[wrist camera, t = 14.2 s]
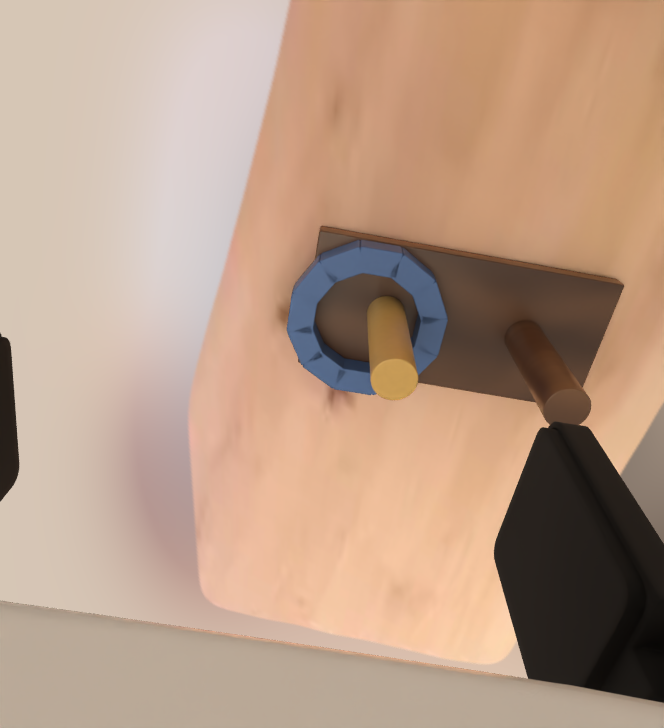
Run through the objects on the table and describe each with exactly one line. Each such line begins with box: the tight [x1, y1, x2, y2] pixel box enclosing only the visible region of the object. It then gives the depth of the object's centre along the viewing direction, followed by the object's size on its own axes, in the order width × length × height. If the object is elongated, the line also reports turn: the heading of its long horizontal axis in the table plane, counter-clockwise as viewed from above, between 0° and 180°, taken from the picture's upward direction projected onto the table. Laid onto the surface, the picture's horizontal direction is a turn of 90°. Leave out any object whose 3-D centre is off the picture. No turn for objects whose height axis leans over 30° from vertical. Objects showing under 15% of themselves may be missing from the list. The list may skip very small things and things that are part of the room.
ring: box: [287, 240, 448, 395], centre depth 38 cm, size 10×10×2 cm
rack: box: [298, 226, 624, 425], centre depth 35 cm, size 9×19×10 cm, turn 80°
